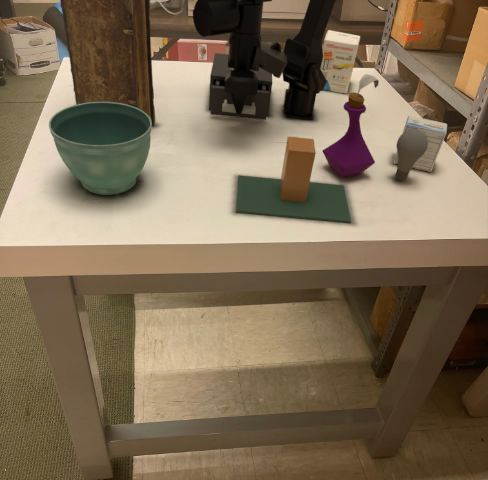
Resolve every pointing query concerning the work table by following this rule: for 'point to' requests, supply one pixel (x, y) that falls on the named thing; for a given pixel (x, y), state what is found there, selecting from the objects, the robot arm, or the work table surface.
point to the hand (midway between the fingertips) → (238, 113)
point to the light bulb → (409, 151)
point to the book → (110, 51)
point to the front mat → (269, 202)
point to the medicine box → (434, 136)
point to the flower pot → (103, 144)
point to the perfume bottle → (352, 138)
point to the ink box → (338, 60)
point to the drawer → (252, 107)
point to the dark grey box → (222, 67)
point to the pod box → (297, 169)
